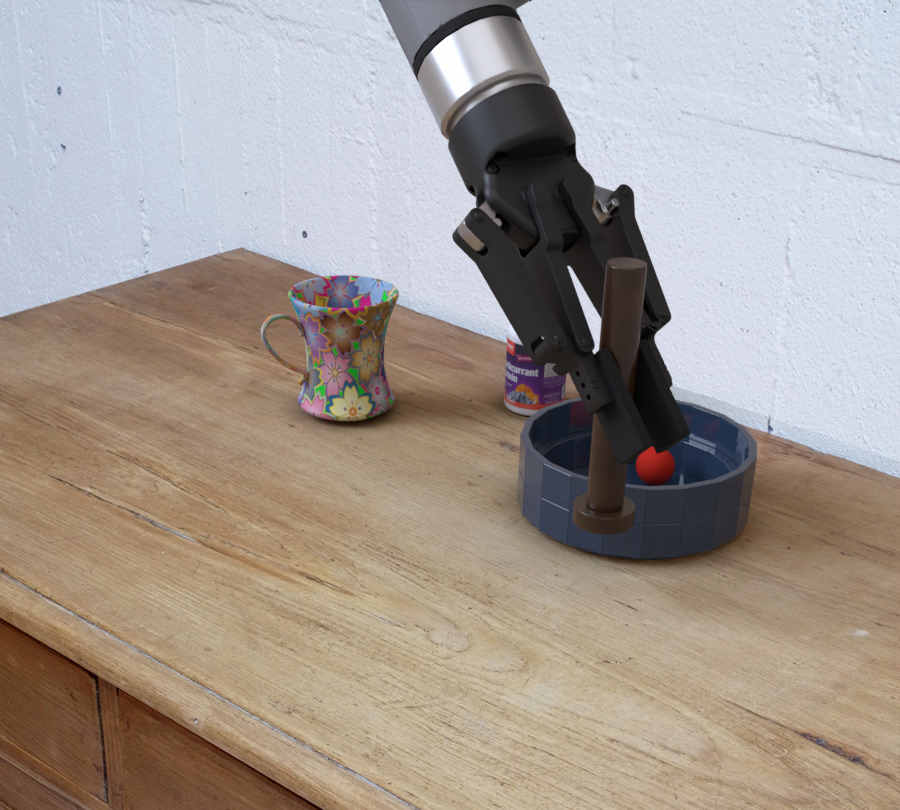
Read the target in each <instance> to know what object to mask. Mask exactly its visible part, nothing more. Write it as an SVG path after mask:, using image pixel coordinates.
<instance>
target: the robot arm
mask: <svg viewBox="0 0 900 810" xmlns="http://www.w3.org/2000/svg"><path fill="white" fill-rule="evenodd" d="M532 1H533V0H378V2H379V4H380V6H381V8H382V10H383V12H384V14H385V16H386V18H387V20H388V22H389V24H390V27H391V29H392V32H393V33H394V35H395V37H396V40H397V42H398V44H399V45H400V47H401V50H402V51H403V54H404V56H405V58H406V61H407V62H408V64H409V66H410V68H411V70H412V73H413V74H414V77H415V79H416V81H417V83H418V85H419V88H420V90H421V92H422V95H423V97H424V99H425V101H426V103H427V105H428V107H429V109H430V112H431V114H432V116H433V118H434V120H435V123H436V125H437V127H438V129H439V131H440V133H441V135H442V136H443V137H444V138H445V139H446V140H447V141H448V143H447V149H448V151H449V154H450V156H451V158H452V160H453V163H454V164H455V166H456V169H457V171H458V173H459V176H460V178H461V180H462V182H463V185H464V186H465V188H466V191H468V193H469V194H470V195H472V196H473V197H475V207H473V208H471V209H470V211H469V212H468V213H467V215H466V216H465V217H464V218H463V220H462V221H461V222H460V223H459V225H458V226H457V227H456V228H455V229H454V230H453V233H452V235H451V236H452V241H453V242H454V243H455V245H456V246H457V247H458V248H459V249H460V250H461V251H462V252H464V254H465V255H467V257H468V258H470V260H471V261H472V262H474V264H475V265H476V266H477V268H478V270H479V272H480V274H481V276H482V277H483V279H484V280H485V283H486V284H487V286H488V287H489V289H490V291H491V293H492V294H493V296H494V298H495V299H496V301H497V303H498V305H499V306H500V308H501V310H502V311H503V313H504V315H505V317H506V318H507V321H508V322H509V325H512V327H513V329H514V331H515V332H516V334H517V336H518V337H519V339H520V341H521V343H522V344H523V346H524V348H525V350H526V351H527V353H528V355H529V356H530V358H531V360H532V361H533V362H534V364H536V365H538V366H544V365H546V364H547V363H551V364H555V365H554V366H553V367H552V369H553V371H554V372H555V373H556V374H558V375H560V376H564V375H566V376H567V374H569V377H570V379H571V381H572V383H573V385H574V387H575V390H576V391H577V393H578V397H579V398H581V399H582V403H583V405H584V407H585V408H586V410H587V411H588V412H589V413H590V414H595V413H596V415H597V417H598V419H599V421H600V424H601V426H602V428H603V430H604V432H605V434H606V436H607V439H608V441H609V443H610V445H611V447H612V449H613V452H614V454H615V456H616V458H617V460H618V462H619V465H623V464H626V463H629V462H630V461H632V460H633V459H635V458H636V457H637V456H639V455H640V454H641V453H643V452H644V451H646V450H647V449H648V448H650V447H651V446H652V445H653V447H654V449H655V451H656V453H657V454H658V453H661V452H664V451H667V450H668V449H669V448H671V447H672V446H674V445H675V444H676V443H678V442H679V441H681V440H682V439H683V438H685V437H686V436H688V435H689V434H691V432H690V430H689V428H688V426H687V423H686V421H685V419H684V417H683V415H682V413H681V411H680V409H679V407H678V404H677V402H676V400H677V399H676V398H675V396H674V394H673V392H672V390H671V388H672V387H673V378H672V376H671V373H670V371H669V369H668V367H667V364H666V363H665V360H664V358H663V356H662V354H661V352H660V350H659V348H658V345H657V343H656V339H655V338H656V337H655V336H656V335H657V333H658V332H659V331H660V330H662V329H663V328H664V327H665V326H666V325H667V324H668V323H669V322H670V321H671V320H672V313H671V310H670V308H669V305H668V301H667V299H666V297H665V293H664V291H663V289H662V286H661V283H660V281H659V277H658V275H657V272H656V269H655V267H654V264H653V262H652V258H651V256H650V253H649V250H648V248H647V245H646V243H645V240H644V237H643V235H642V232H641V229H640V226H639V223H638V220H637V218H636V209H635V204H636V203H635V193H634V190H633V189H632V188H631V187H630V185H627V184H624V183H621V184H619V186H618V187H617V188H616V189H615V190H611V189H609V188H605V187H603V186H600V185H596V183H595V180H594V178H593V175H591V174H590V173H589V172H588V171H587V170H586V169H585V167H584V166H583V165H582V164H581V163H580V161H579V160H578V157H577V136H576V135H577V134H576V131H575V130H574V128H573V125H572V124H571V121H570V119H569V117H568V114H567V113H566V111H565V109H564V107H563V104H562V102H561V100H560V97H559V96H558V94H557V92H556V90H554V88H552V87H551V86H550V83H551V80H550V76H549V74H548V72H547V70H546V68H545V66H544V64H543V62H542V60H541V57H540V55H539V54H538V52H537V50H536V47H535V45H534V43H533V41H532V39H531V37H530V35H529V33H528V31H527V30H526V29H527V28H526V27H525V25H524V23H523V21H522V19H521V16H520V15H519V13H518V11H517V9H519V8H520V7H522V6H524V5H526V4H527V3H529V2H532ZM620 257H626V258H635V259H639V260H642V261H644V262H646V263H647V273H646V283H645V293H644V303H643V313H642V323H641V333H640V343H639V353H638V363H637V373H636V383H635V393H634V401H633V399H632V397H631V395H630V392H629V390H628V388H627V386H626V384H625V382H624V380H623V377H622V375H621V373H620V371H619V369H618V367H617V365H616V362H615V360H614V358H613V356H612V354H611V352H610V350H609V348H605V349H601V350H599V349H598V350H597V351H596V352H595V353H594V351H593V350H595V347H596V346H595V340H594V337H593V334H592V332H591V329H590V326H589V323H588V321H587V318H586V314H585V312H584V310H583V307H582V304H581V301H580V298H579V294H578V291H577V289H576V287H575V284H574V281H573V278H572V276H571V275H572V274H571V273H570V270H569V267H570V268H571V270H572V272H573V273H574V275H575V277H576V278H577V280H578V282H579V284H580V285H581V287H582V289H583V290H584V292H585V294H586V296H587V297H588V299H589V301H590V303H591V304H592V306H593V307H594V309H595V312H597V314H598V316H599V318H600V320H601V319H602V307H603V295H604V283H605V271H606V262H607V261H608V260H610V259H613V258H620ZM541 336H542V337H543V338H544V339H542V337H541Z"/></svg>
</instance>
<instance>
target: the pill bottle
mask: <svg viewBox="0 0 900 810" xmlns="http://www.w3.org/2000/svg"><path fill="white" fill-rule="evenodd" d="M541 337H542V336H541ZM542 339H544V338H543V337H542ZM554 365H555V364H551V363H547V364H546V365H544V366H538V365H536V364H534V362H533V361H532V360H531V358H530V356H529V355H528V353H527V351H526V350H525V348H524V346H523V344H522V343H521V341H520V339H519V337H518V336H517V334H516V332H515V331H514V329H513V327H512V325H511V324H509V326H508V328H507V333H506V353H505V373H504V375H505V376H504V390H503V391H504V392H503V394H504V395H503V397H504V399H503V403H504V405H505V407H506V408H507V409H508V410H509V411H510V412H513V413H515V414H518V415H521V416H526V417H531V416H532V415H534V414H535V413H536V412H538V411H539V410H541V409H542V408H544V407H547V406H550V405H553V404H556V403H559V402H561V401H564V400H566V399H565V398H566V388H567V387H566V386H567V374H566V375H564V376H560V375H558V374H556V373H555V372H554V371H553V369H552V367H553V366H554Z"/></svg>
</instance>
